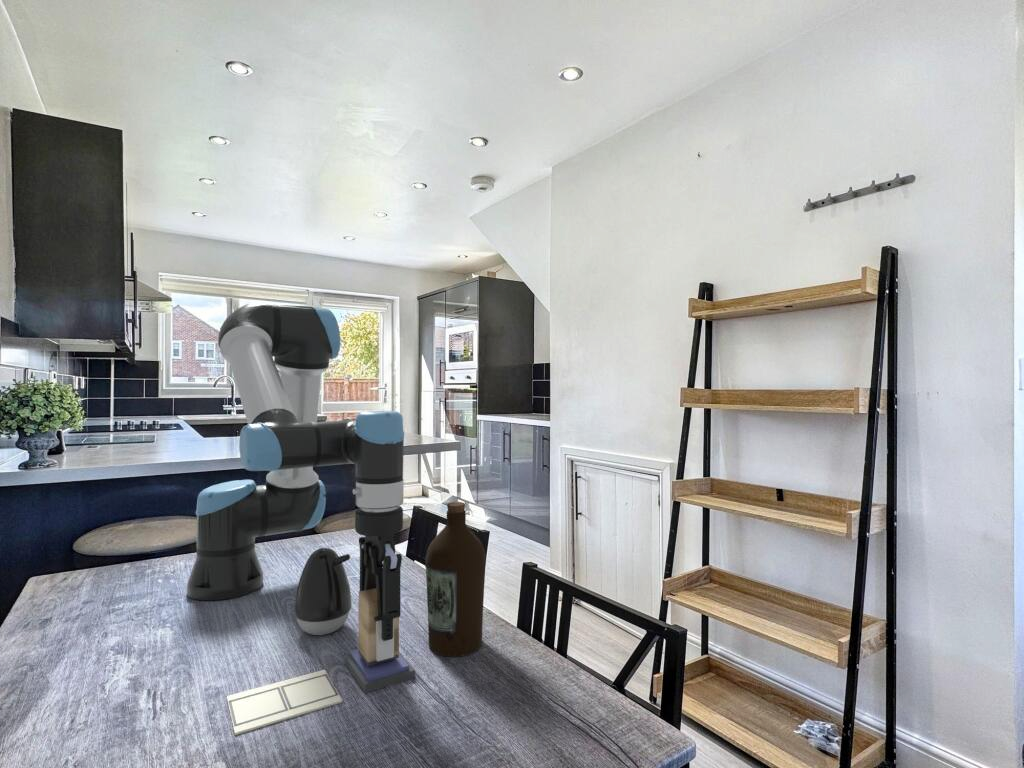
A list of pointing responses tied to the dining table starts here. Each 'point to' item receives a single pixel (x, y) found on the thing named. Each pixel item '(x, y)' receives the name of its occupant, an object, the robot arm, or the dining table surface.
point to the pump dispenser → (323, 593)
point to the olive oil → (455, 587)
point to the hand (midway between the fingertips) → (378, 650)
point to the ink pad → (378, 671)
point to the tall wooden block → (371, 628)
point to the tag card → (281, 701)
